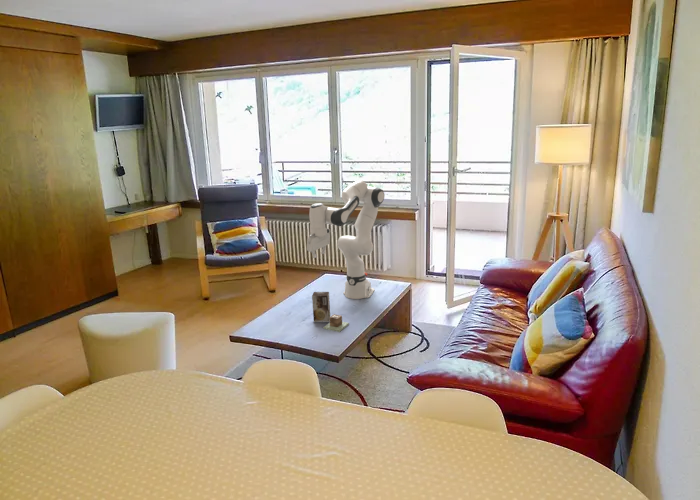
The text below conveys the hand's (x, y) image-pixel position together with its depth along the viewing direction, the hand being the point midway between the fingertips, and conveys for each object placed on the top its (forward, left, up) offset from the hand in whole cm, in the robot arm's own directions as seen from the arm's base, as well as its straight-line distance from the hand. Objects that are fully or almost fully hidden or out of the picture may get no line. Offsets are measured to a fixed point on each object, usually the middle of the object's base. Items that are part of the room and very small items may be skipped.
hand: (319, 255), depth 288 cm
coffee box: (+10, +6, -35) cm, 37 cm away
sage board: (+15, +18, -35) cm, 42 cm away
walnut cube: (+15, +18, -34) cm, 41 cm away
